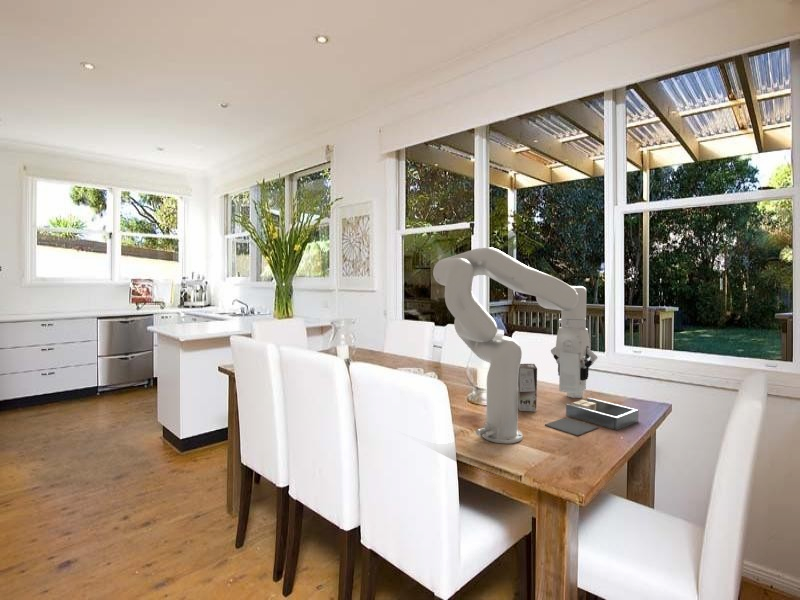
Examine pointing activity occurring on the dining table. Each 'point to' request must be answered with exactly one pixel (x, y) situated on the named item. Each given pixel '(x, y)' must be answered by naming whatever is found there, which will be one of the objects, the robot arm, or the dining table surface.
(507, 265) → the robot arm
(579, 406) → the offcut
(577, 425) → the mat
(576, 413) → the grey tray
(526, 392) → the coffee box
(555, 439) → the dining table surface
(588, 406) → the offcut
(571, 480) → the dining table surface
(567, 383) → the small box
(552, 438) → the dining table surface
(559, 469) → the dining table surface
